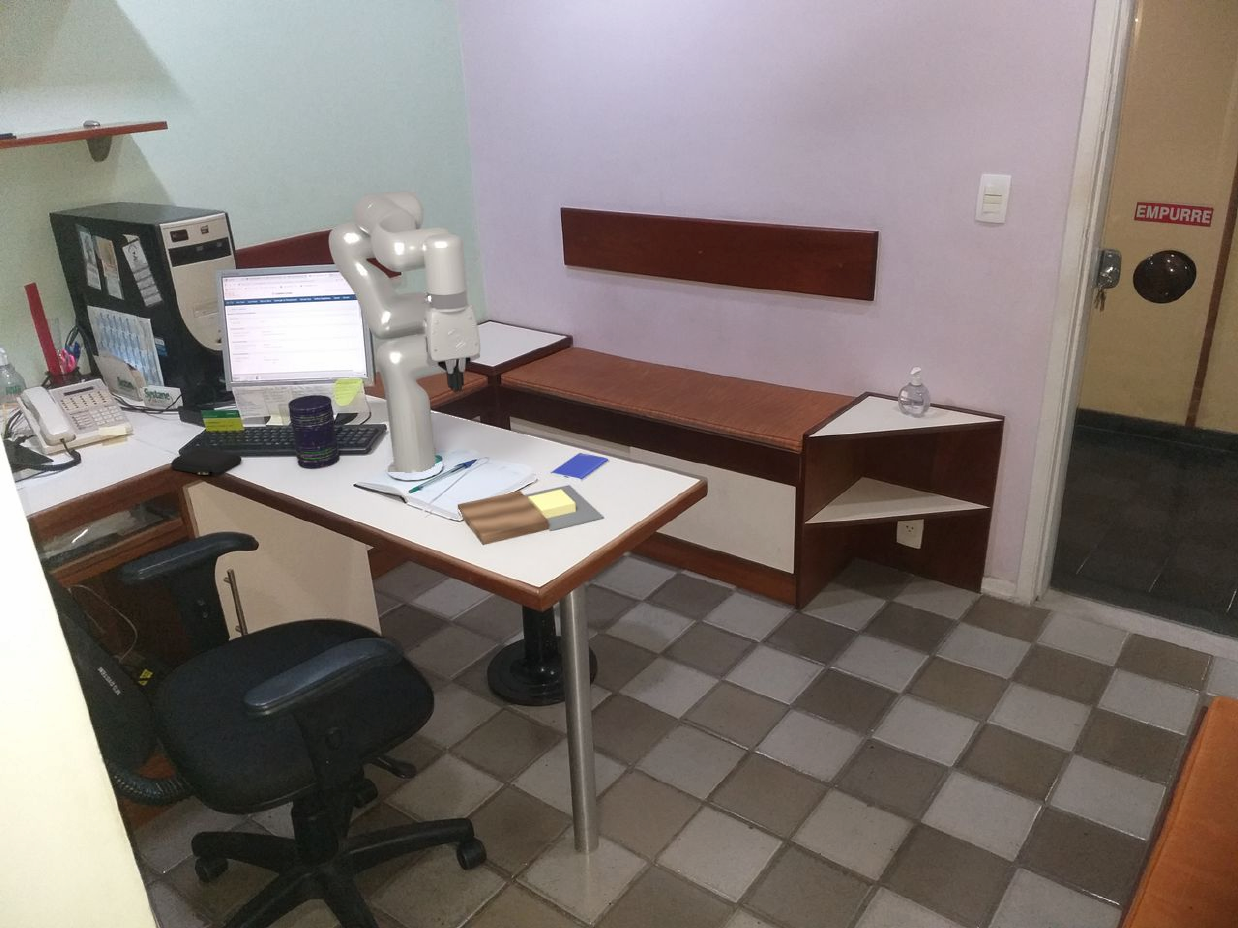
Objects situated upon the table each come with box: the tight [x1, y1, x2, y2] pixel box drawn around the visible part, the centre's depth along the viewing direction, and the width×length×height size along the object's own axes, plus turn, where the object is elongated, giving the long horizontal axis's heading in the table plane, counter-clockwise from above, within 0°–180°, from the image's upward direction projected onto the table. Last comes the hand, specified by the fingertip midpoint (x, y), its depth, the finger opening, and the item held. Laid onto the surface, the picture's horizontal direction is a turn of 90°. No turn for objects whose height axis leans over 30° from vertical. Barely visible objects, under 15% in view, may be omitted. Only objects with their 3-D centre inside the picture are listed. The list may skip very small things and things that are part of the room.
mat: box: [524, 484, 605, 532], centre depth 206 cm, size 18×12×1 cm, turn 26°
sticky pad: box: [528, 490, 576, 518], centre depth 204 cm, size 8×8×2 cm
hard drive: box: [550, 452, 609, 483], centre depth 224 cm, size 2×8×12 cm
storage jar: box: [287, 394, 341, 470], centre depth 228 cm, size 10×10×15 cm
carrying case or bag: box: [170, 447, 243, 477], centre depth 229 cm, size 11×3×15 cm
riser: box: [457, 490, 549, 545], centre depth 200 cm, size 16×14×2 cm
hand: (456, 389), depth 194 cm, fingers closed
